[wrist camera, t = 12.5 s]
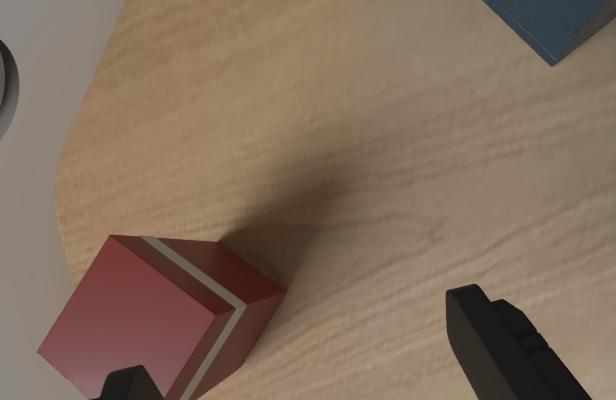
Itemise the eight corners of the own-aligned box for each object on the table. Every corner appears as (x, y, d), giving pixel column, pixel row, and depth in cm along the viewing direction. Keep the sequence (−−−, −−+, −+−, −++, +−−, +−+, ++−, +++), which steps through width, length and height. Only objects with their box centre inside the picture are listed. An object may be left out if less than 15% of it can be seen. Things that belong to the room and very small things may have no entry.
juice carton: (169, 316, 26) (34, 352, 16) (216, 240, 26) (109, 232, 16) (238, 370, 25) (136, 445, 15) (288, 291, 25) (218, 314, 15)
